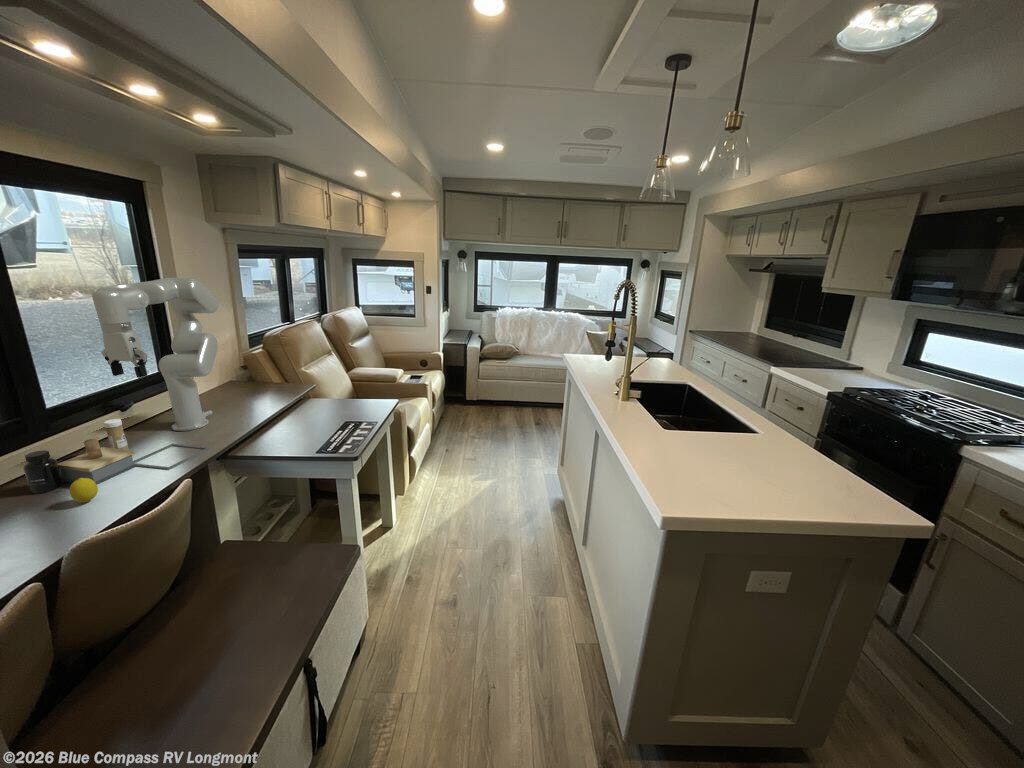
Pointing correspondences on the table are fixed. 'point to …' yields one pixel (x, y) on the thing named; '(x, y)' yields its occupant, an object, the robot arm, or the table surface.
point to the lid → (94, 457)
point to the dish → (100, 471)
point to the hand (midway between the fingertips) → (130, 375)
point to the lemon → (83, 490)
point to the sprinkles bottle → (116, 434)
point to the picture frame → (174, 464)
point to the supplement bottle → (42, 472)
